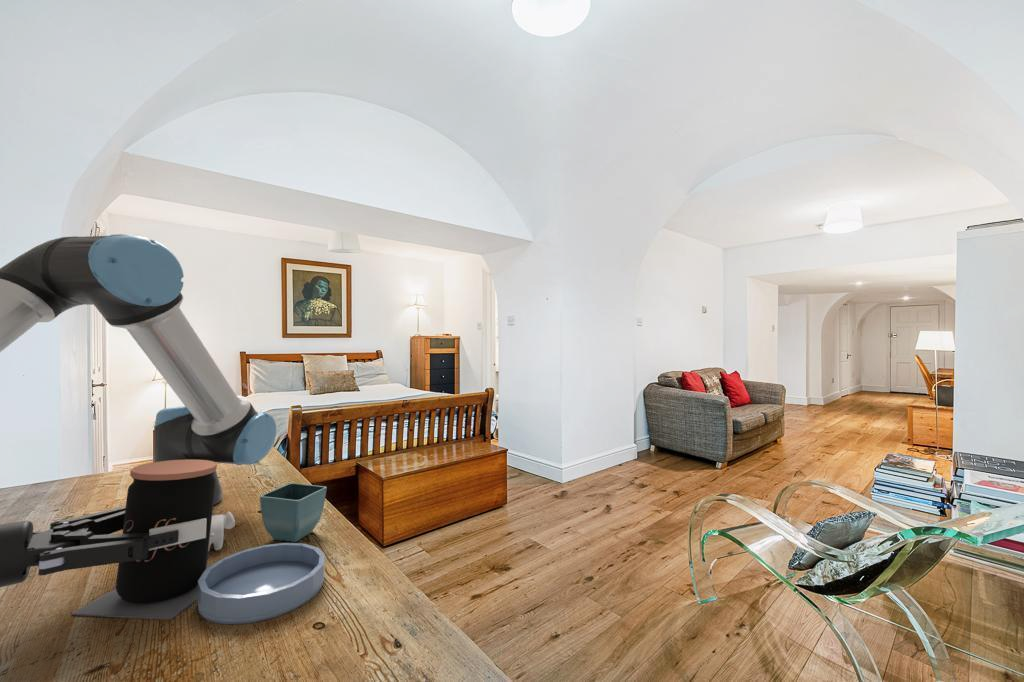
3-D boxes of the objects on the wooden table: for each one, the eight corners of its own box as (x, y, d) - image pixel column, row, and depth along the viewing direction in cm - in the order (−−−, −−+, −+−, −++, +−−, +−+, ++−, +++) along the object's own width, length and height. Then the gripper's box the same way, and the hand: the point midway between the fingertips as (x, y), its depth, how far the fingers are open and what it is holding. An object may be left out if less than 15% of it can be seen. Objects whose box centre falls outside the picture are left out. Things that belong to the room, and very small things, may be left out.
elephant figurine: (234, 535, 84) (235, 504, 85) (233, 551, 78) (235, 518, 78) (191, 542, 81) (193, 510, 81) (187, 560, 74) (189, 525, 74)
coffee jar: (93, 605, 59) (110, 472, 61) (151, 570, 70) (165, 458, 71) (174, 606, 60) (189, 475, 61) (220, 571, 71) (231, 460, 72)
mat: (159, 564, 72) (159, 563, 72) (239, 568, 72) (239, 567, 72) (71, 615, 58) (71, 613, 58) (170, 620, 58) (171, 618, 58)
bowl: (247, 561, 74) (247, 541, 74) (341, 565, 74) (342, 545, 74) (166, 621, 58) (168, 594, 58) (287, 627, 57) (288, 600, 57)
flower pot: (296, 549, 79) (298, 500, 80) (256, 543, 81) (258, 495, 81) (326, 530, 88) (328, 486, 88) (289, 525, 90) (290, 482, 90)
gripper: (-2, 555, 62) (189, 518, 77) (-44, 636, 45) (211, 568, 60) (2, 503, 62) (191, 476, 77) (-40, 563, 45) (213, 514, 60)
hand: (200, 516), depth 68 cm, fingers closed on coffee jar, 11 cm apart
